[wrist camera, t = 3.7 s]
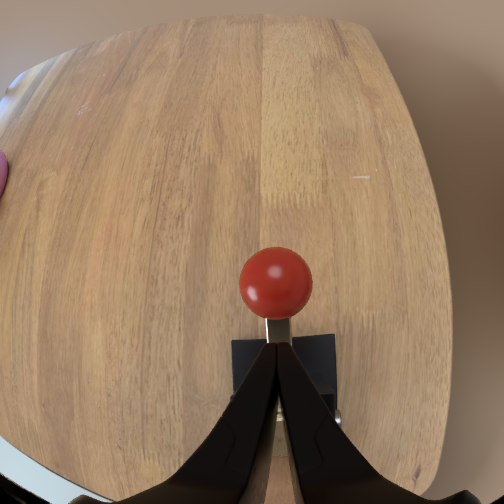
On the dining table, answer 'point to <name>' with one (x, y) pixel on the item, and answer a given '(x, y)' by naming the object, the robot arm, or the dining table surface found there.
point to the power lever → (276, 302)
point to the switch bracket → (311, 356)
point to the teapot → (3, 171)
